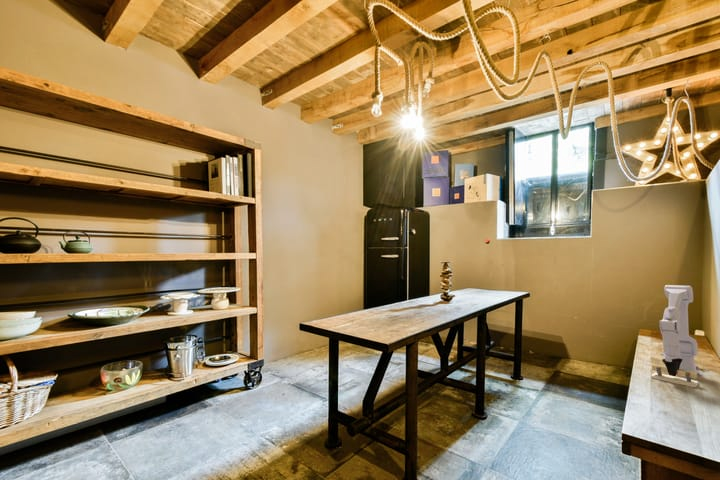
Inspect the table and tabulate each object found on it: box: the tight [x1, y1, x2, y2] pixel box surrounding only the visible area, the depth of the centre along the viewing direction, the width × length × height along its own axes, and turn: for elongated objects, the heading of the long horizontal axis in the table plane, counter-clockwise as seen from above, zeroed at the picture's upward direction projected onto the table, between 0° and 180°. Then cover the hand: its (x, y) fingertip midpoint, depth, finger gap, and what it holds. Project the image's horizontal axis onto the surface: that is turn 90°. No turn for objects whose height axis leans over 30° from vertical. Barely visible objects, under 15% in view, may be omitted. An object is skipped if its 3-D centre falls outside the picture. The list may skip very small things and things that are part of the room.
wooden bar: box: [651, 363, 698, 380], centre depth 151 cm, size 2×15×2 cm, turn 35°
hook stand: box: [650, 367, 699, 388], centre depth 151 cm, size 7×15×5 cm, turn 35°
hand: (673, 374), depth 151 cm, fingers open, 4 cm apart
